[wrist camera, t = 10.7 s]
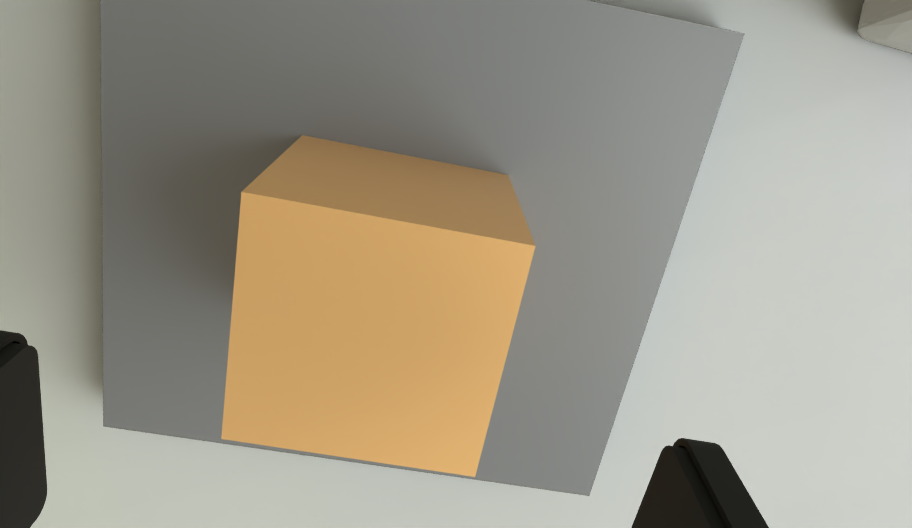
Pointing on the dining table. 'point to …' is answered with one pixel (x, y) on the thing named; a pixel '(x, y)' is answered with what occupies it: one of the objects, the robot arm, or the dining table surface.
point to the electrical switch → (887, 23)
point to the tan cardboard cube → (373, 306)
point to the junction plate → (414, 134)
